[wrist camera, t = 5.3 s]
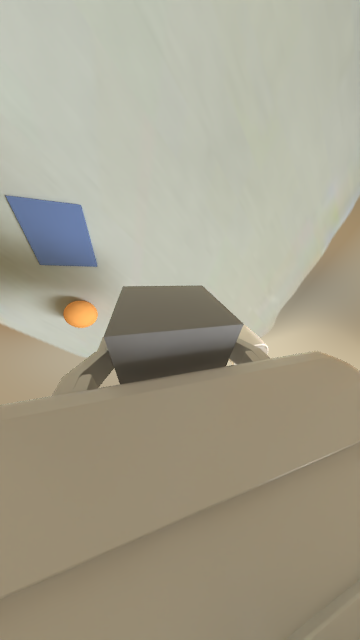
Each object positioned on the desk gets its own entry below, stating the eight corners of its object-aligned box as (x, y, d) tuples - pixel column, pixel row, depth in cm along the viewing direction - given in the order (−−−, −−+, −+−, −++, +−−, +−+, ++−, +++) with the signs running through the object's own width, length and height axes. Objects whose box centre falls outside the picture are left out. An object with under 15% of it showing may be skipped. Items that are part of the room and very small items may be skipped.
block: (122, 286, 11) (103, 336, 5) (202, 285, 12) (243, 324, 7) (134, 347, 14) (128, 409, 9) (193, 340, 16) (215, 390, 11)
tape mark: (6, 195, 16) (5, 195, 16) (80, 205, 18) (80, 204, 17) (41, 264, 20) (40, 264, 20) (97, 266, 22) (97, 266, 22)
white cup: (226, 298, 32) (274, 338, 20) (225, 319, 36) (264, 363, 25) (200, 305, 32) (234, 351, 20) (202, 326, 36) (231, 374, 24)
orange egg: (66, 296, 24) (51, 310, 20) (96, 295, 25) (87, 308, 21) (76, 318, 27) (64, 334, 23) (103, 317, 28) (96, 332, 24)
